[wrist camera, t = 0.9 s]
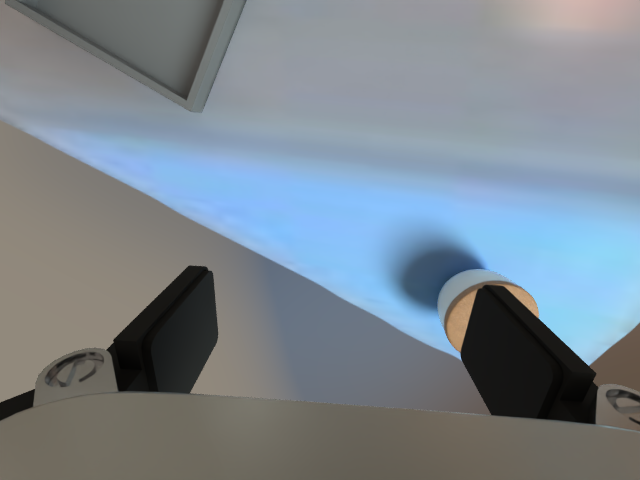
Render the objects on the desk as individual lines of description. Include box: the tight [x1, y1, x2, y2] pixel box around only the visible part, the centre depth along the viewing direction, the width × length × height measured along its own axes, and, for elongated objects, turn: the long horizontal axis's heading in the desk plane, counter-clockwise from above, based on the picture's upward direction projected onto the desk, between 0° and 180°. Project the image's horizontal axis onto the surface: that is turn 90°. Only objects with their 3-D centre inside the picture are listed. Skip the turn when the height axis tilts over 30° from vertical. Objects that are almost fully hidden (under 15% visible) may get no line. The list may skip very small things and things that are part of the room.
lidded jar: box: [437, 269, 539, 353], centre depth 39 cm, size 11×11×9 cm
